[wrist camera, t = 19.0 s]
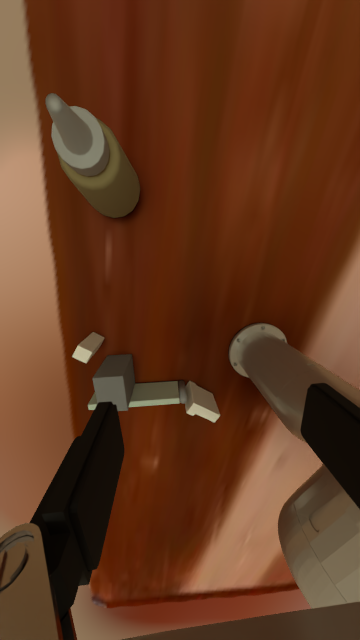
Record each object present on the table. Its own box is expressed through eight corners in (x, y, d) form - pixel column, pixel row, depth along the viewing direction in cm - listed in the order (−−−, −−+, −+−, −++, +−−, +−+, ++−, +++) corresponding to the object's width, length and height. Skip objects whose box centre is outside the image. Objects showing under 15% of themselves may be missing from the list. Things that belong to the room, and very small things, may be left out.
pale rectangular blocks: (213, 392, 42) (221, 416, 36) (207, 400, 43) (214, 425, 36) (93, 331, 36) (76, 346, 30) (87, 341, 37) (70, 358, 30)
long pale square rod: (184, 380, 41) (186, 397, 35) (184, 388, 41) (187, 406, 36) (98, 386, 40) (87, 404, 34) (99, 394, 40) (89, 414, 35)
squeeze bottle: (150, 182, 30) (128, 71, 13) (133, 231, 32) (93, 191, 15) (102, 156, 29) (3, -10, 11) (86, 209, 30) (-18, 135, 13)
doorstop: (131, 354, 38) (122, 376, 31) (135, 382, 40) (127, 410, 33) (107, 355, 38) (92, 378, 31) (112, 384, 40) (99, 412, 33)
